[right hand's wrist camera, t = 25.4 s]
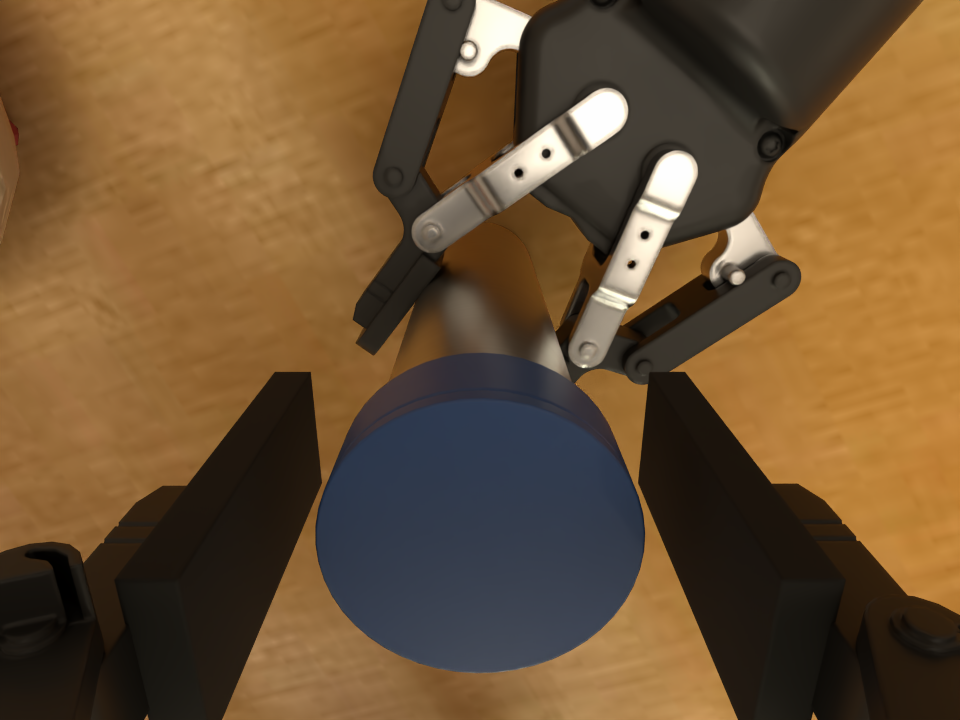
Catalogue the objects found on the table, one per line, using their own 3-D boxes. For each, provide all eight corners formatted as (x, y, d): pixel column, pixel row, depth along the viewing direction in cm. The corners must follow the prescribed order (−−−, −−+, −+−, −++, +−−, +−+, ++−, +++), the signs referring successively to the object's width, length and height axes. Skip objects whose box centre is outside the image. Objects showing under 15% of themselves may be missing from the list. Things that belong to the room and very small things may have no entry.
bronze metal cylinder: (441, 333, 28) (388, 641, 12) (416, 234, 27) (316, 432, 10) (541, 312, 28) (626, 600, 12) (521, 211, 26) (588, 378, 10)
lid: (332, 347, 11) (302, 395, 9) (634, 354, 11) (665, 402, 9) (347, 591, 13) (325, 671, 11) (607, 596, 13) (628, 676, 11)
